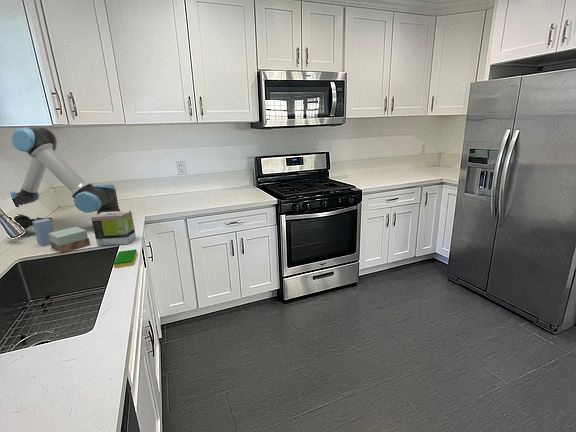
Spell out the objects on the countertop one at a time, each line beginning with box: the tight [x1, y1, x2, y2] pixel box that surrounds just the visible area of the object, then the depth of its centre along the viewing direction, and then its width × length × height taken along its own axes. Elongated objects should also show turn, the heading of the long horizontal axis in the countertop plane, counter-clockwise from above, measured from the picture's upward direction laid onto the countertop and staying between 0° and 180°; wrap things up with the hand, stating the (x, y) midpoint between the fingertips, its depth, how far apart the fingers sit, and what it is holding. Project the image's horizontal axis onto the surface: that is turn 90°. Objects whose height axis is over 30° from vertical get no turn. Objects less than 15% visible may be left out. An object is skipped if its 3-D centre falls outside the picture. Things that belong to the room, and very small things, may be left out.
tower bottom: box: [50, 237, 91, 254], centre depth 153 cm, size 12×12×4 cm
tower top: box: [48, 226, 89, 246], centre depth 152 cm, size 12×12×4 cm
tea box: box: [90, 210, 137, 246], centre depth 156 cm, size 15×10×15 cm
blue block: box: [32, 217, 55, 247], centre depth 157 cm, size 6×6×12 cm
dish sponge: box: [113, 249, 138, 269], centre depth 135 cm, size 7×14×2 cm, turn 19°
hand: (36, 227), depth 162 cm, fingers open, 13 cm apart
